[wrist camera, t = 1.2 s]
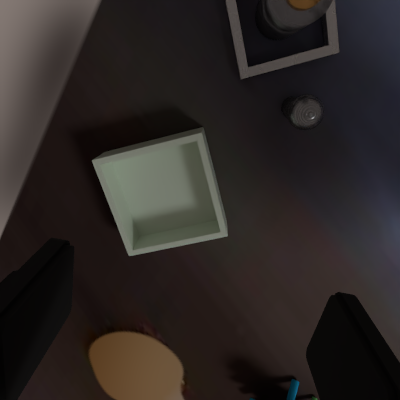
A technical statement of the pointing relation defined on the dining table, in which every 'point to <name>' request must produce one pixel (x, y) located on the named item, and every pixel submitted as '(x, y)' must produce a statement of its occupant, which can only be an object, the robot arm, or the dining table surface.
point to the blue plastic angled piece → (292, 391)
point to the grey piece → (293, 106)
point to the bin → (163, 192)
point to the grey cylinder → (287, 16)
